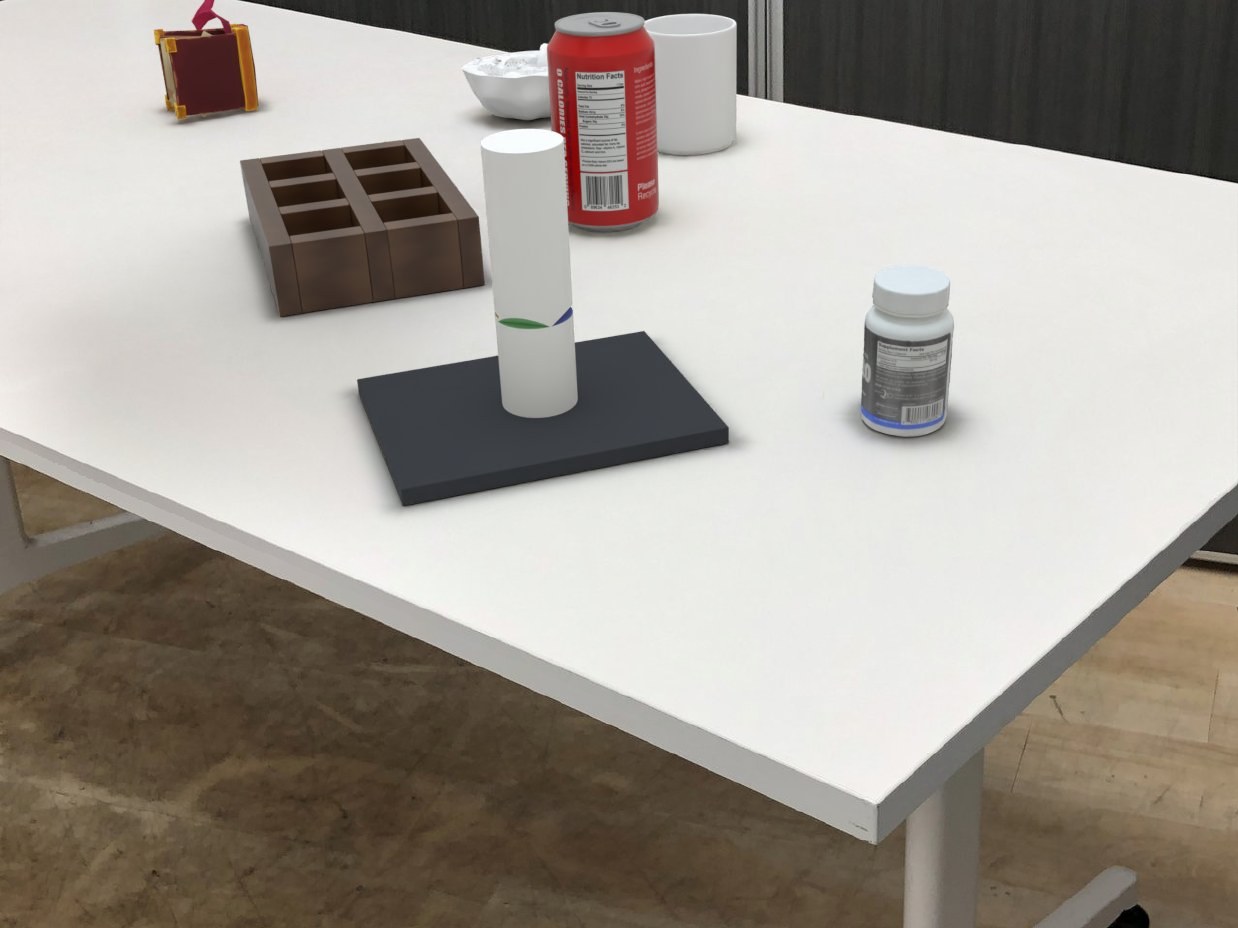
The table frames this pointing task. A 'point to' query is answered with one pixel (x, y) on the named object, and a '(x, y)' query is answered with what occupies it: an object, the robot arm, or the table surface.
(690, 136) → the mug
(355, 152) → the box
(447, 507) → the table surface
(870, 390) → the pill bottle
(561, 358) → the tube
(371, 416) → the mat
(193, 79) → the book monster
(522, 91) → the cell model
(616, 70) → the soda can
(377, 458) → the table surface
